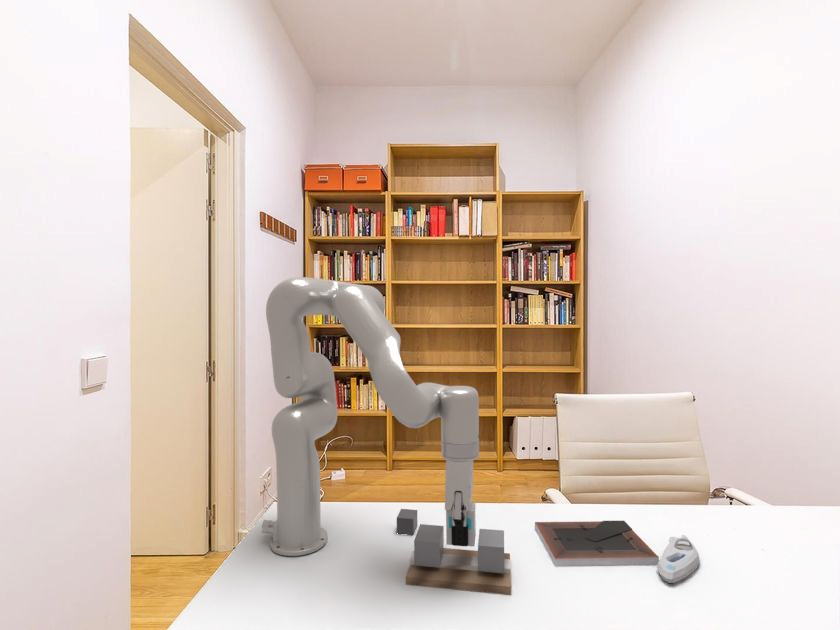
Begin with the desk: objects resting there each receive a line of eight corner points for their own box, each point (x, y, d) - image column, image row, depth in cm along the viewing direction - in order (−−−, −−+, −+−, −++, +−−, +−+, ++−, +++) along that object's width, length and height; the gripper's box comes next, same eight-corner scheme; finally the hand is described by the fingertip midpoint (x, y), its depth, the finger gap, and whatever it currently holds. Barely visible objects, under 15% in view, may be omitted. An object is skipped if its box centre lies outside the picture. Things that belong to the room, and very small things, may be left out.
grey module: (446, 545, 95) (445, 510, 95) (448, 533, 100) (448, 500, 100) (474, 547, 94) (473, 511, 94) (475, 535, 99) (475, 501, 99)
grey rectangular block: (396, 534, 113) (396, 517, 113) (401, 524, 118) (401, 508, 118) (413, 536, 113) (413, 519, 112) (417, 526, 117) (417, 509, 117)
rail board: (405, 584, 93) (405, 571, 93) (416, 552, 105) (416, 541, 105) (511, 594, 90) (511, 581, 90) (509, 560, 101) (509, 548, 101)
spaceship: (691, 595, 90) (691, 572, 90) (652, 584, 94) (652, 561, 94) (704, 544, 109) (704, 525, 109) (672, 536, 112) (672, 517, 112)
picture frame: (623, 530, 116) (534, 531, 116) (624, 520, 116) (534, 521, 116) (659, 568, 100) (555, 569, 99) (659, 556, 100) (555, 557, 99)
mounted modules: (414, 565, 95) (414, 540, 95) (420, 547, 102) (420, 524, 102) (504, 573, 92) (504, 547, 92) (504, 554, 99) (504, 530, 99)
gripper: (446, 436, 106) (447, 518, 106) (435, 461, 89) (437, 559, 89) (480, 437, 104) (481, 520, 105) (476, 463, 88) (477, 562, 88)
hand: (461, 537), depth 97 cm, fingers closed on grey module, 4 cm apart
